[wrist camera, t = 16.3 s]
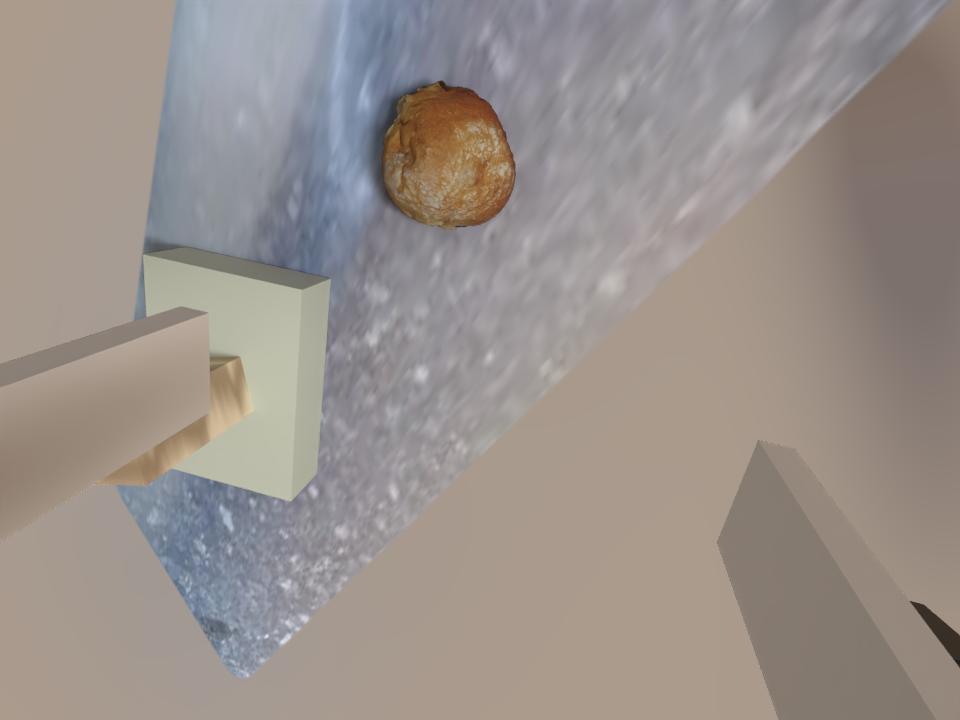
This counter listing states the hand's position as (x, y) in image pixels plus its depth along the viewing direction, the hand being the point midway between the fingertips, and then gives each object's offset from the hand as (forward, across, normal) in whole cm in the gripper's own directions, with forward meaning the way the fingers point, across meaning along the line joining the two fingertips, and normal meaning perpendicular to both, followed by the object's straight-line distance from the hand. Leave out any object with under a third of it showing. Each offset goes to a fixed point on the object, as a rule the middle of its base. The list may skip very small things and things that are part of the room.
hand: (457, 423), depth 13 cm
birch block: (+27, -25, -16) cm, 40 cm away
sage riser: (+31, -25, -16) cm, 43 cm away
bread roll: (+32, -9, +5) cm, 34 cm away
